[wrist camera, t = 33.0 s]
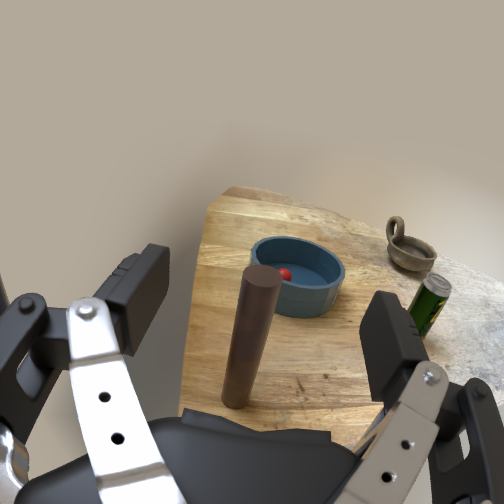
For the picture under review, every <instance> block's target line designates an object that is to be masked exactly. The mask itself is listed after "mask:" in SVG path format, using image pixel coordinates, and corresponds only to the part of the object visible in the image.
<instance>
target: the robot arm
mask: <svg viewBox="0 0 504 504" xmlns="http://www.w3.org/2000/svg"><path fill="white" fill-rule="evenodd" d="M169 260H170V251H169V247H165V246H160V245H156V244H151V243H150V244H148V246H147V247H146V248H145V249H144V250H143V251H142V253H141V254H136V253H134V254H132V255H130V256H129V257H127V258H125V259H123V261H122V262H121V263H120V264H119V265H118V266H117V268H116V269H115V270H114V271H113V272H112V275H110V276H109V277H108V278H107V280H106V281H105V282H104V283H103V284H102V285H101V287H100V288H99V289H98V290H97V291H96V293H95V294H94V295H93V296H92V297H84V298H81V299H78V300H76V301H74V302H73V303H71V304H70V306H69V307H68V308H52V307H47V305H46V301H45V299H44V297H43V296H41V295H39V294H37V293H26V294H23V295H21V296H19V297H17V298H16V299H15V300H14V301H13V302H12V303H11V304H10V302H9V300H8V296H7V294H6V291H5V288H4V285H3V282H2V279H1V275H0V504H403V502H404V500H405V498H406V497H407V495H408V493H409V492H410V490H411V488H412V486H413V484H414V482H415V481H416V478H417V477H418V475H419V473H420V471H421V469H422V467H423V465H424V463H425V461H426V458H427V456H428V462H429V471H430V480H431V491H432V504H504V426H503V423H502V420H501V417H500V414H499V411H498V408H497V405H496V402H495V399H494V396H493V393H492V391H491V389H490V387H489V386H488V385H487V384H486V383H485V382H484V381H483V380H481V379H479V378H471V379H469V380H468V381H467V383H466V384H465V385H464V386H461V385H458V384H455V383H452V382H449V379H448V376H447V374H446V372H445V371H444V369H443V368H442V367H440V366H439V365H438V364H436V363H434V362H431V361H429V358H428V355H427V352H426V350H425V347H424V345H423V342H422V340H421V337H420V336H419V332H418V330H417V328H416V325H415V322H414V320H413V318H412V316H411V315H410V314H409V313H408V311H407V310H406V309H405V308H402V306H401V304H400V301H399V299H398V297H397V295H396V294H395V293H390V292H385V291H379V290H378V291H376V293H375V294H374V296H373V298H372V300H371V302H370V304H369V307H368V309H367V311H366V313H365V315H364V317H363V319H362V321H361V324H360V330H359V334H360V340H361V344H362V349H363V354H364V359H365V365H366V370H367V375H368V381H369V387H370V392H371V398H372V401H375V402H383V403H384V407H383V408H382V409H381V410H380V412H379V413H378V415H377V416H376V418H375V419H374V421H373V422H372V424H371V425H370V426H369V428H368V429H367V431H366V432H365V434H364V435H363V436H362V438H361V439H360V441H359V442H358V443H357V444H356V446H355V447H354V448H353V449H352V450H351V451H350V450H349V449H347V448H346V447H344V446H342V445H340V444H337V443H335V442H332V441H331V431H320V430H308V429H298V428H295V429H286V430H276V431H264V432H259V431H255V430H252V429H250V428H247V427H245V426H242V425H240V424H237V423H235V422H233V421H230V420H228V419H226V418H224V417H221V416H217V415H212V414H208V413H204V412H199V411H195V410H191V409H187V408H184V411H183V414H182V417H166V418H160V419H156V420H152V421H149V422H146V420H145V417H144V415H143V412H142V410H141V407H140V404H139V402H138V399H137V396H136V394H135V391H134V388H133V385H132V383H131V380H130V377H129V374H128V371H127V368H126V365H125V361H124V358H123V356H122V355H123V354H126V355H129V356H134V354H135V352H136V351H137V349H138V346H139V345H140V343H141V341H142V339H143V337H144V335H145V333H146V331H147V330H148V328H149V326H150V324H151V322H152V320H153V318H154V316H155V314H156V313H157V311H158V308H159V307H160V305H161V304H162V302H163V300H164V298H165V296H166V294H167V291H168V286H169V264H170V261H169ZM27 352H28V354H27ZM26 354H27V356H26V357H25V359H24V360H23V358H24V356H25V355H26ZM22 360H23V362H22V363H21V361H22ZM20 363H21V365H20V367H19V368H18V366H19V364H20ZM17 368H18V370H17ZM62 370H69V371H70V377H71V383H72V389H73V394H74V398H75V404H76V408H77V412H78V417H79V421H80V426H81V430H82V433H83V437H84V441H85V444H86V448H87V451H88V453H87V454H85V455H83V456H81V457H80V458H77V459H75V460H73V461H71V462H69V463H67V464H65V465H63V466H61V467H59V468H57V469H54V470H52V471H50V472H47V473H45V474H43V475H41V476H38V477H36V478H34V479H32V480H30V481H29V480H28V474H27V472H28V471H29V454H28V451H27V449H26V447H25V444H26V441H27V439H28V437H29V435H30V433H31V431H32V429H33V426H34V424H35V422H36V420H37V418H38V416H39V414H40V412H41V410H42V408H43V406H44V404H45V402H46V400H47V398H48V396H49V394H50V392H51V390H52V389H53V386H54V384H55V383H56V381H57V379H58V377H59V375H60V374H61V372H62ZM465 429H466V431H467V435H468V440H469V444H470V451H469V454H468V456H467V458H466V459H465V460H464V457H463V452H462V447H461V442H460V437H459V434H460V433H461V432H463V431H464V430H465Z"/></svg>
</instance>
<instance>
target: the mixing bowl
mask: <svg viewBox="0 0 504 504" xmlns="http://www.w3.org/2000/svg"><path fill="white" fill-rule="evenodd" d="M254 264H262V265H267V266H270V267H273V268H275V269H276V270H279V269H282V268H284V269H287V270H289V271H290V273H291V276H292V278H291V281H290V282H289V281H286V280H283V282H282V286H281V289H280V293H279V297H278V300H277V304H276V308H275V311H274V312H276V313H278V314H281V315H285V316H289V317H295V318H311V317H316V316H320V315H322V314H324V313H326V312H327V311H329V310H330V309H331V307H332V306H333V304H334V302H335V301H336V298H337V296H338V293H339V290H340V288H341V285H342V283H343V280H344V278H345V268H344V266H343V264H342V262H341V261H340V260H339V259H338V258H337V257H336V256H335V255H334V254H333V253H332V252H330V251H329V250H327V249H326V248H324V247H322V246H320V245H318V244H315V243H313V242H311V241H307V240H304V239H300V238H294V237H287V236H277V237H269V238H264V239H262V240H260V241H258V242H257V243H255V245H254V246H253V248H252V249H251V253H250V259H249V264H248V266H250V265H254Z"/></svg>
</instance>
